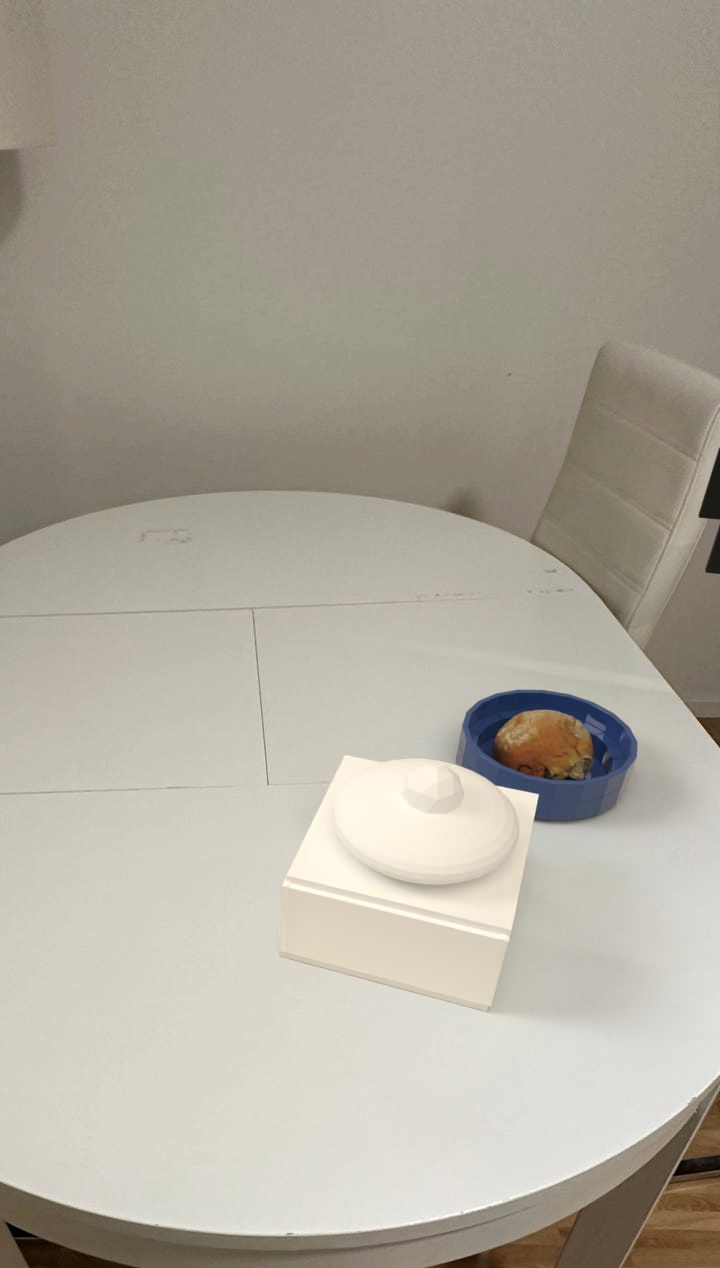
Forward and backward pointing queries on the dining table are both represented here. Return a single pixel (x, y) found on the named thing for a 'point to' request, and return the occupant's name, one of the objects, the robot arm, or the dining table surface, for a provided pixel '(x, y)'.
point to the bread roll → (545, 745)
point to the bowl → (555, 796)
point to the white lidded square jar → (410, 878)
